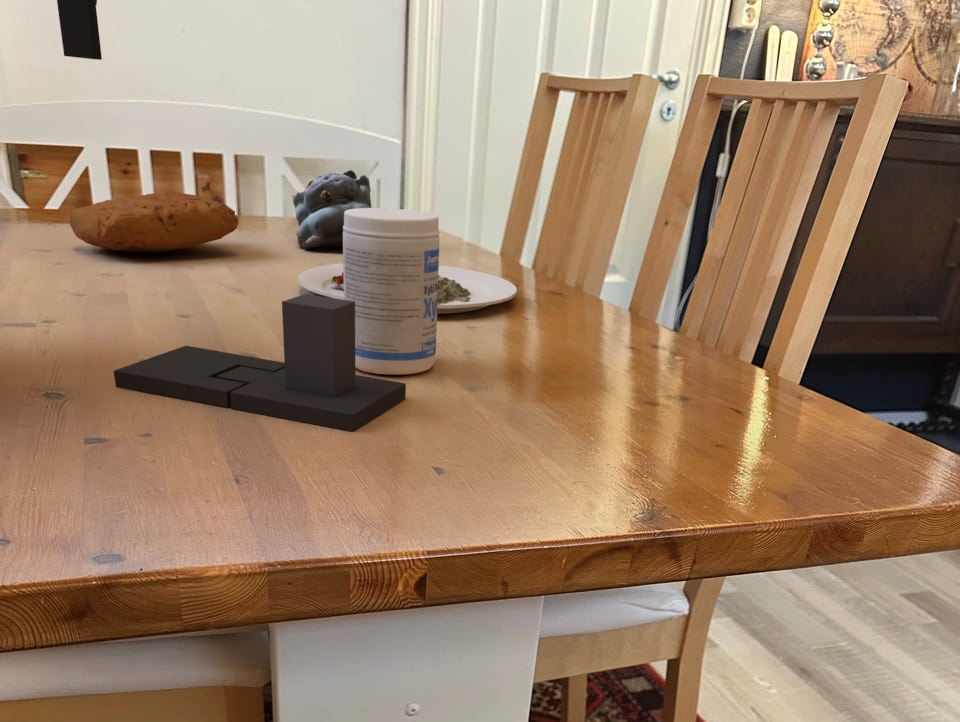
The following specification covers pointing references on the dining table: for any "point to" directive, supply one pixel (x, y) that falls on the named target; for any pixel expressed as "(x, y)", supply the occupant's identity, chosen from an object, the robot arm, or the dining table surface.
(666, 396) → the dining table surface
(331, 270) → the plated food
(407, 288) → the supplement tub
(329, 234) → the blue creature figurine
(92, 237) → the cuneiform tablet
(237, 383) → the base pad
